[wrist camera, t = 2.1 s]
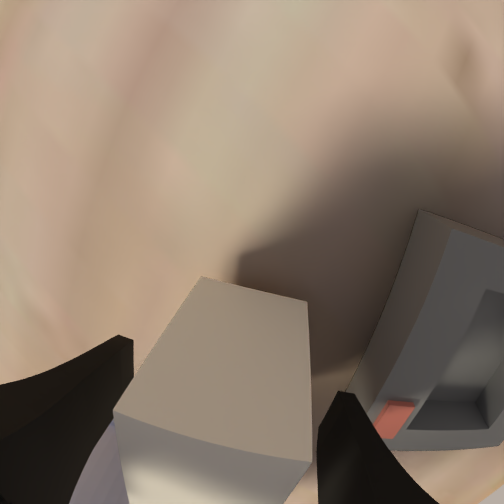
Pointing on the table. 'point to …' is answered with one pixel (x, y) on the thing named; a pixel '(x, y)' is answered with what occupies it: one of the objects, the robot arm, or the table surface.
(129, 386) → the plug
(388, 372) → the socket
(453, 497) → the table surface
